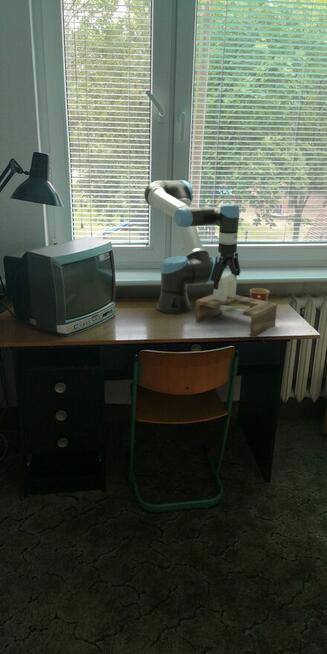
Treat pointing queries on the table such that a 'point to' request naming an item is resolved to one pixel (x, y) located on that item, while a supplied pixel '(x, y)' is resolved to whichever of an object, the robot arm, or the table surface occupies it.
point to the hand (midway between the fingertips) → (224, 293)
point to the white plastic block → (227, 287)
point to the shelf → (239, 311)
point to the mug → (259, 294)
